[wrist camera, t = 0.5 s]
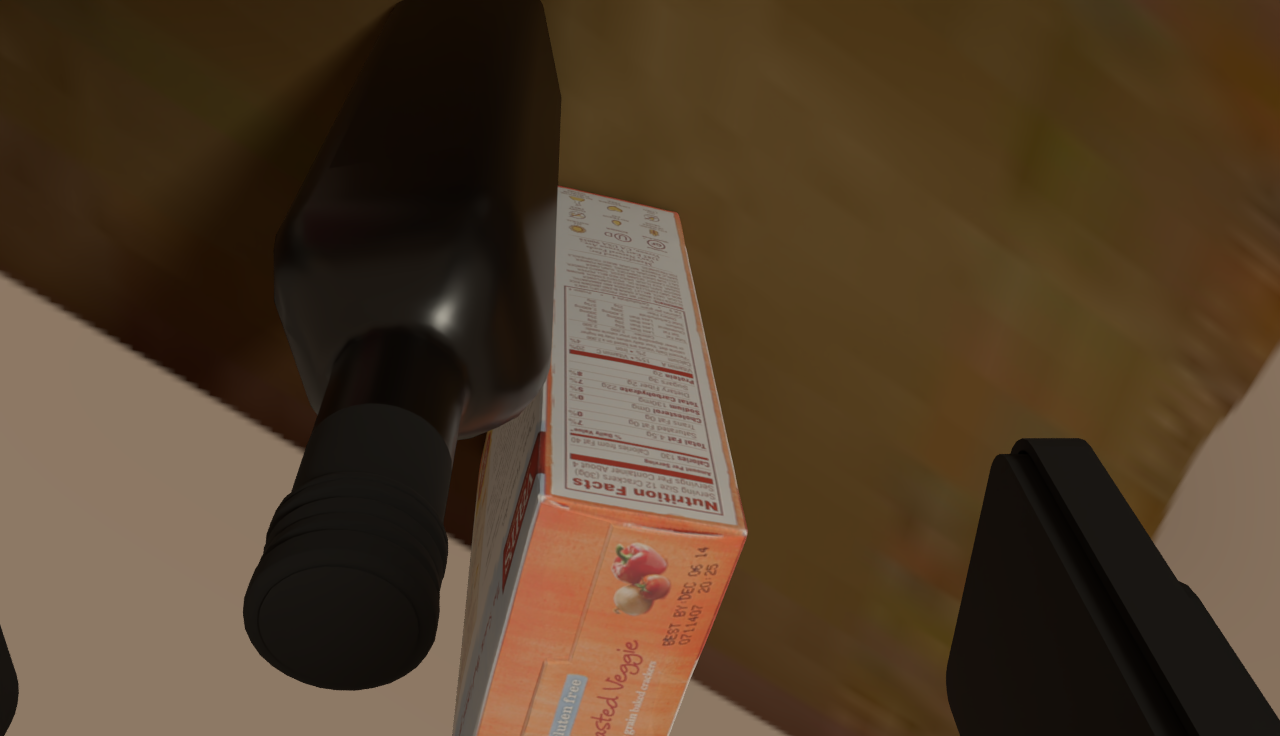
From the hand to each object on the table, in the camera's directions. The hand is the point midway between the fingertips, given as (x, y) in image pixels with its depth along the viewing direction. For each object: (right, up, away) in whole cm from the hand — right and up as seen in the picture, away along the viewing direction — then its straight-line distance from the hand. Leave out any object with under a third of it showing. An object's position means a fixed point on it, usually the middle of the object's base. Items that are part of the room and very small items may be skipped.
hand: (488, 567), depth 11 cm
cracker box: (-1, +3, +40) cm, 40 cm away
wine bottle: (-5, +13, +34) cm, 36 cm away
